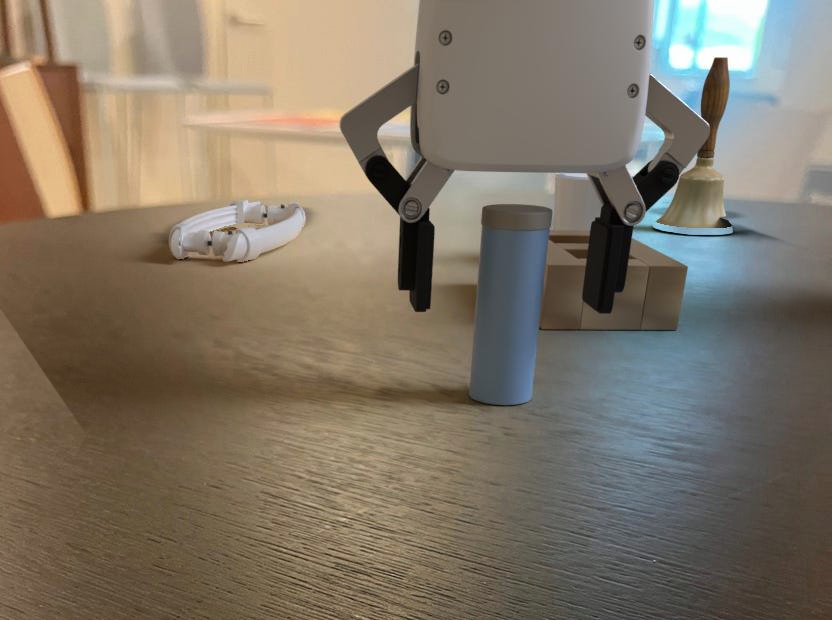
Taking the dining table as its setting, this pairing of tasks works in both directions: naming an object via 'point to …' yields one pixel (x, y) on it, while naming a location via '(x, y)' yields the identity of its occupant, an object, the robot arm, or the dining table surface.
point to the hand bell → (704, 163)
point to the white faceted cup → (575, 202)
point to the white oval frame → (237, 230)
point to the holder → (632, 308)
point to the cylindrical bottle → (508, 302)
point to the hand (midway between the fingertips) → (508, 305)
